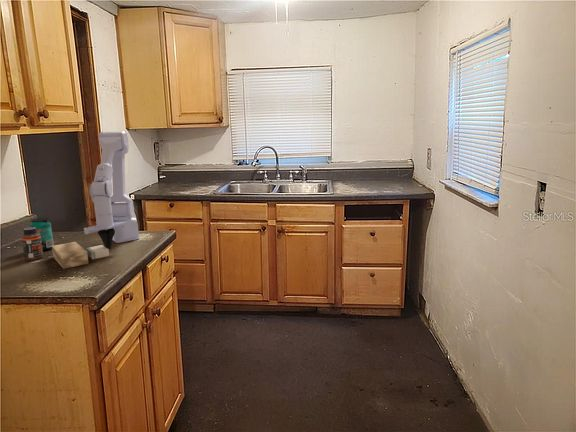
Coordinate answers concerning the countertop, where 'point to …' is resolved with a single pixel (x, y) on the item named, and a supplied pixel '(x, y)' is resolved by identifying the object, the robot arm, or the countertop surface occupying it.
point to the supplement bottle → (32, 244)
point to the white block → (97, 251)
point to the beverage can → (44, 232)
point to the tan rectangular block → (69, 255)
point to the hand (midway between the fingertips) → (108, 249)
